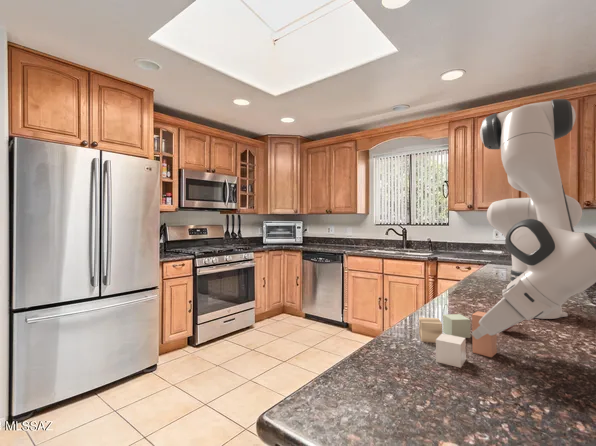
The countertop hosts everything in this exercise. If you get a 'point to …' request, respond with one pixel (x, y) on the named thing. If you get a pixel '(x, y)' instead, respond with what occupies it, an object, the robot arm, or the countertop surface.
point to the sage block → (456, 325)
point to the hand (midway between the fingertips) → (481, 330)
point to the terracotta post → (483, 338)
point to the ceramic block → (451, 350)
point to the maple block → (429, 329)
